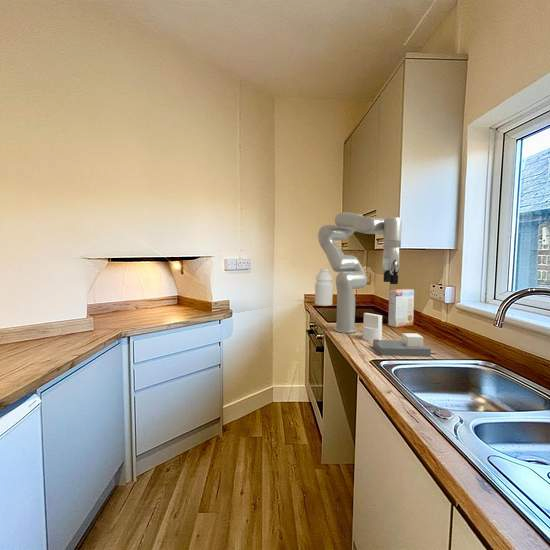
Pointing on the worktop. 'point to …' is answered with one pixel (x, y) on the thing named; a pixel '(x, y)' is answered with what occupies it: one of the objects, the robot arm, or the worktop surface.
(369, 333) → the base with upright slab
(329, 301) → the bottle
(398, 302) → the cracker box
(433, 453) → the worktop surface
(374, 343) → the socket plate
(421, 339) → the plug
